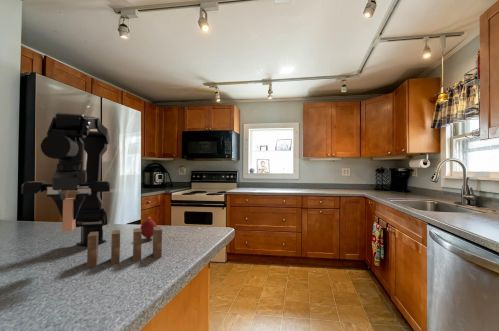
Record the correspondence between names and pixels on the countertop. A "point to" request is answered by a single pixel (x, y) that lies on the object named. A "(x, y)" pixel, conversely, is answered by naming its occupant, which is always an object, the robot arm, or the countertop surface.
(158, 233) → the domino
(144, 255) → the countertop surface
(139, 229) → the domino
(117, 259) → the domino
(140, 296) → the countertop surface
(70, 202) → the loose domino
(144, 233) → the pomegranate
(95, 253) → the domino
